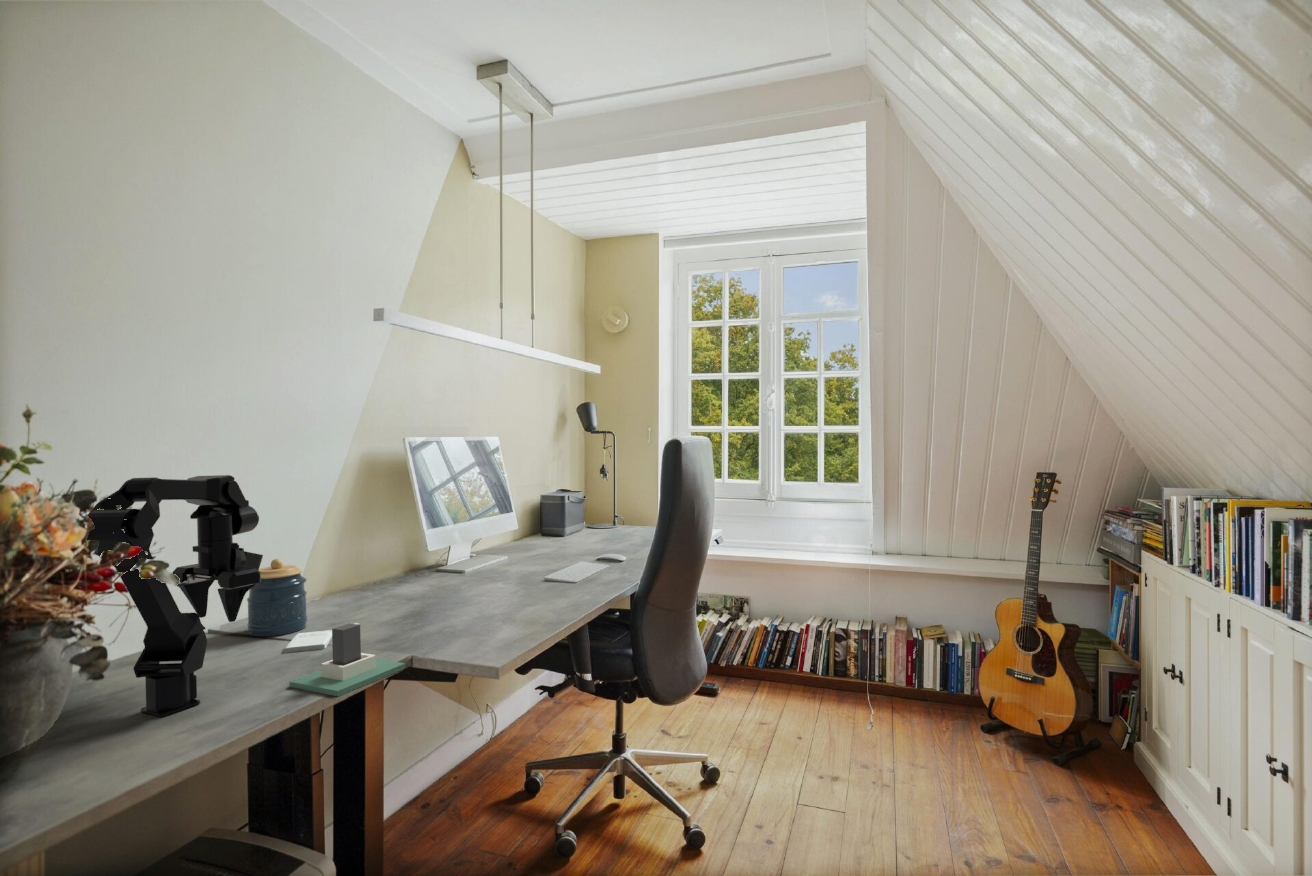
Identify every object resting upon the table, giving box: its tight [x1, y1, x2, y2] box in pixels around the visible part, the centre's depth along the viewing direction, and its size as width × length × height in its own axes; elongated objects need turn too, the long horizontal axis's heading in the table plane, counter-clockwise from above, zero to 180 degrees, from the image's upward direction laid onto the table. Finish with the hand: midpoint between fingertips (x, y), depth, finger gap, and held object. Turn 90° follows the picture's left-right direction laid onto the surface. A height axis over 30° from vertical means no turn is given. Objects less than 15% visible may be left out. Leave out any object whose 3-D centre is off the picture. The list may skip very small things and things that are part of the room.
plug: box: [331, 622, 362, 666], centre depth 132 cm, size 5×3×9 cm, turn 155°
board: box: [289, 652, 406, 697], centre depth 132 cm, size 16×13×4 cm
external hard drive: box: [283, 629, 332, 654], centre depth 156 cm, size 2×8×12 cm
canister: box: [246, 558, 308, 637], centre depth 168 cm, size 13×13×18 cm
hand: (217, 619), depth 132 cm, fingers open, 9 cm apart
